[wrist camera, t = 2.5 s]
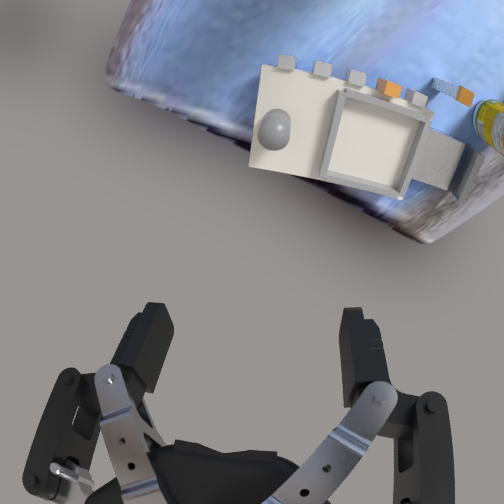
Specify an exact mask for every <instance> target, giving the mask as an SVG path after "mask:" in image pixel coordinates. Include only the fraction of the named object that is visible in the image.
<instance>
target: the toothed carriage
mask: <svg viewBox="0 0 504 504" xmlns="http://www.w3.org/2000/svg"><path fill="white" fill-rule="evenodd" d="M295 62H296V57H295V56H289V55H283V54H279V59H278V65H277V66H274V65H267V64H263V65H262V68H261V75H260V83H259V90H258V98H257V105H256V113H255V120H254V128H253V136H252V143H251V151H250V160H249V167H253V168H259V169H265V170H271V171H277V172H282V173H287V174H292V175H298V176H303V177H308V178H312V179H317V180H322V181H326V182H331V183H335V184H340V185H344V186H348V187H353V188H357V189H361V190H365V191H369V192H373V193H377V194H380V195H384V196H388V197H392V198H395V199H399V200H403V198H404V196H405V193H406V191H407V189H408V186H409V184H410V181H411V179H412V176H413V174H414V171H415V168H416V166H417V163H418V161H419V158H420V155H421V152H422V150H423V147H424V144H425V141H426V138H427V135H428V132H429V129H430V126H431V123H432V119H433V115H434V112H433V111H432V110H430V109H428V108H426V107H425V106H426V102H427V99H428V96H426V95H424V94H421V93H419V92H417V91H414V90H412V89H409V88H407V91H406V95H405V98H401V97H400V93H401V89H402V86H400V85H398V84H395V83H393V82H391V81H388V80H385V79H382V78H379V77H378V81H377V86H376V89H374V88H371V87H368V86H365V81H366V77H367V74H365V73H363V72H359V71H356V70H352V69H349V68H347V72H346V76H345V80H343V79H339V78H335V77H331V76H330V75H331V70H332V64H329V63H325V62H320V61H316V60H314V64H313V70H312V72H309V71H304V70H298V69H294V68H295Z"/></svg>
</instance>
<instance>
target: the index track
mask: <svg viewBox="0 0 504 504" xmlns="http://www.w3.org/2000/svg"><path fill="white" fill-rule="evenodd" d="M431 88H433V89H435V90H437V91H440V92H442V93H444V94H446V95H448V96H450V97H453V98H455V100H457V101H459V102H461V103H463V104H465V105H466V106H468V107H470V108H471V104H472V101H473V97H474V93H473V92H471V91H469V90H467V89H465V88H464V87H462V86H459V87H458V86H456V85H453V84H451V83H448V82H445V81H443V80H440V79H437V78H433V82H432V86H431ZM483 160H484V156H483V155H482V154H481V153H480V152H478V151H477V150H476V149H475V148H474V147H472V146H471V145H469V144H467V143H466V144H464V143H463V142H462V141H460V140H458V139H456V138H454V137H452V136H450V135H447V134H445V133H443V132H441V131H438V130H436V129H434V128H431V127H430V129H429V132H428V135H427V138H426V141H425V144H424V147H423V150H422V152H421V155H420V158H419V161H418V163H417V166H416V168H415V171H414V174H413V176H412V179H414V180H417V181H420V182H423V183H426V184H429V185H432V186H435V187H438V188H441V189H444V190H446V191H447V189H448V188H449V190H450V191H451V192H452V194H453V195H454V196H455V197H456V199H457V200H458V201H460V202H463V203H464V202H465V200H466V198H467V196H468V194H469V192H470V190H471V188H472V185H473V183H474V181H475V179H476V176H477V174H478V172H479V169H480V167H481V165H482V162H483Z"/></svg>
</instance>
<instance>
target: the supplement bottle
mask: <svg viewBox="0 0 504 504" xmlns="http://www.w3.org/2000/svg"><path fill="white" fill-rule="evenodd" d="M473 124H474V128H475V131H476V133H477V134H478V136H479V137H480V138H481V139H482V140H483V141H485V142H486V143H487V144H489V145H490V146H491V147H493V148H494V149H495V150H496V151H498V152H499V153H500V154H501V155H503V156H504V104H503V103H501V102H499V101H497V100H495V99H484V100H482V101H481V102H480V103H478V105H477V106H476V108H475V111H474V115H473Z"/></svg>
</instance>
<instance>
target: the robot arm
mask: <svg viewBox="0 0 504 504" xmlns="http://www.w3.org/2000/svg"><path fill="white" fill-rule="evenodd" d="M173 335H174V326H173V323H172V320H171V318H170V316H169V313H168V311H167V308H166V306H165V304H163V303H153V302H148V303H147V304H146V306H145V308H144V310H143V312H142V313H140V312H139V313H137V314H136V315H135V316H134V317H133V318H132V319H131V321H130V323H129V325H128V327H127V330H126V331H125V333H124V335H123V338H122V339H121V342H120V343H119V345H118V348H117V350H116V352H115V354H114V356H113V358H112V361H111V363H110V364H107V365H104V366H102V367H101V368H100V369H99V370H98V371H97V372H96V373H89V374H81V373H80V372H79V371H78V370H77V369H75V368H67V369H65V370H63V371H62V372H61V373H60V375H59V376H58V379H57V381H56V383H55V385H54V388H53V390H52V392H51V395H50V397H49V400H48V402H47V405H46V407H45V410H44V412H43V415H42V418H41V420H40V423H39V426H38V428H37V431H36V434H35V438H34V440H33V443H32V446H31V449H30V452H29V456H28V459H27V462H26V465H25V469H24V473H23V478H22V479H23V485H24V487H25V489H26V490H27V491H28V492H29V493H30V494H32V495H34V496H37V497H40V498H42V499H44V500H46V501H49V502H52V503H55V504H331V503H330V502H329V501H328V500H327V499H328V498H329V497H330V496H331V495H332V494H333V492H334V491H335V490H336V489H337V488H338V487H339V486H340V484H341V483H342V482H343V481H344V480H345V478H346V477H347V476H348V475H349V473H350V472H351V471H352V470H353V468H354V467H355V466H356V464H357V463H358V462H359V461H360V459H361V458H362V457H363V455H364V454H365V452H366V451H367V449H368V447H369V445H370V444H371V442H372V441H373V439H374V438H375V436H376V435H379V436H384V437H388V438H394V491H393V492H394V493H393V504H455V478H454V460H453V459H454V458H453V446H452V436H451V428H450V420H449V413H448V407H447V402H446V400H445V398H444V397H443V396H442V395H441V394H439V393H437V392H433V391H432V392H431V391H430V392H426V393H424V394H423V395H421V396H420V397H419V396H414V395H409V394H404V393H401V392H399V391H398V390H396V389H395V388H394V387H393V386H392V384H391V382H390V379H389V374H388V369H387V363H386V358H385V353H384V349H383V343H382V340H381V339H382V338H381V334H380V329H379V327H378V326H377V324H376V323H375V322H374V320H373V319H364V316H363V311H362V308H361V307H355V308H354V307H353V308H344V310H343V315H342V320H341V326H340V331H339V347H340V357H341V370H342V384H343V399H344V408H346V407H351V409H350V411H349V412H348V413H347V415H346V416H345V417H344V418H343V420H342V421H341V422H340V424H339V425H338V426H337V427H336V428H335V429H334V430H333V431H332V432H331V433H330V434H329V435H328V436H327V438H326V439H325V440H324V441H323V442H322V443H321V444H320V446H319V447H318V448H317V449H316V450H315V451H314V453H313V454H312V455H311V456H310V457H309V458H308V459H307V460H306V461H305V462H304V463H303V464H302V466H301V467H299V466H298V465H296V464H295V463H293V462H291V461H290V460H288V459H285V458H283V457H279V456H277V452H273V451H257V450H248V451H241V452H232V453H221V452H218V451H216V450H213V449H211V448H208V447H205V446H203V445H201V444H198V443H192V442H186V441H181V440H175V443H174V444H172V445H166V444H165V442H164V441H163V439H162V437H161V436H160V435H159V433H158V431H157V429H156V427H155V425H154V423H153V420H152V418H151V415H150V413H149V411H148V408H147V405H146V403H145V400H144V398H143V396H144V393H145V392H148V393H153V392H154V389H155V386H156V384H157V381H158V378H159V374H160V372H161V369H162V366H163V363H164V360H165V358H166V355H167V352H168V349H169V346H170V343H171V341H172V338H173ZM78 406H79V408H78V411H77V414H76V417H75V420H74V423H73V425H72V421H73V419H74V415H75V413H76V410H77V407H78ZM100 430H101V431H102V435H103V438H104V441H105V444H106V448H107V450H108V454H109V457H110V460H111V462H112V466H113V468H114V471H115V474H116V476H117V477H115V478H114V479H113V480H111V481H110V482H108V483H106V484H105V485H103V486H102V487H100V488H99V489H97V490H96V491H94V492H93V490H92V488H93V487H94V481H93V480H92V477H91V475H90V473H89V469H90V465H91V461H92V458H93V454H94V450H95V447H96V443H97V440H98V436H99V433H100Z"/></svg>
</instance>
